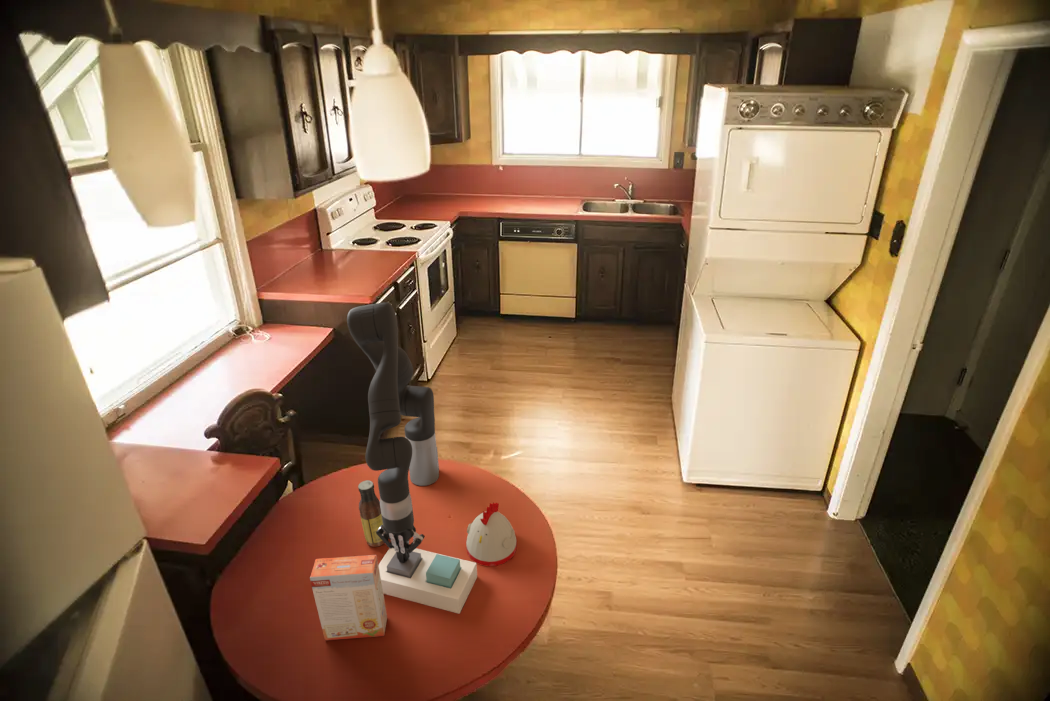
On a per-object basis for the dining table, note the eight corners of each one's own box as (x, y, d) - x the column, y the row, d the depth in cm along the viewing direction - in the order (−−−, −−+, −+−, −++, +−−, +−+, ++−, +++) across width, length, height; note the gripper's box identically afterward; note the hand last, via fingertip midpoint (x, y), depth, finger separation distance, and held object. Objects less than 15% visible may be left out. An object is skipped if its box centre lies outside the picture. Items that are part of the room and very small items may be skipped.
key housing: (395, 556, 163) (393, 542, 161) (477, 576, 157) (476, 562, 155) (372, 590, 153) (370, 576, 151) (459, 613, 147) (458, 599, 144)
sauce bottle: (391, 532, 171) (383, 477, 162) (384, 548, 166) (375, 493, 157) (369, 531, 172) (359, 476, 163) (361, 547, 166) (351, 491, 157)
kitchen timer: (456, 554, 164) (453, 512, 157) (483, 522, 175) (481, 482, 168) (500, 573, 158) (499, 530, 151) (525, 539, 169) (524, 497, 162)
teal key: (437, 565, 155) (436, 553, 153) (460, 570, 153) (459, 559, 152) (427, 584, 150) (425, 572, 148) (450, 590, 148) (449, 578, 146)
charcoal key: (400, 559, 159) (398, 548, 157) (422, 564, 157) (420, 553, 155) (388, 577, 153) (386, 566, 151) (411, 583, 152) (409, 572, 150)
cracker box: (387, 615, 146) (377, 553, 137) (384, 637, 141) (373, 574, 131) (329, 619, 146) (315, 556, 136) (324, 641, 140) (308, 577, 131)
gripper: (428, 503, 147) (433, 555, 155) (380, 493, 150) (387, 544, 158) (414, 524, 140) (420, 577, 148) (364, 513, 144) (373, 565, 152)
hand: (403, 560), depth 153 cm, fingers closed
